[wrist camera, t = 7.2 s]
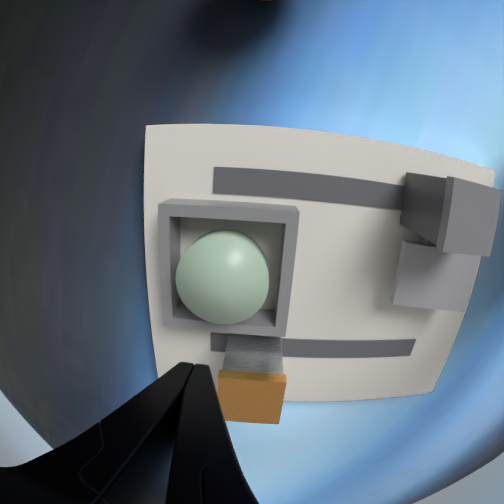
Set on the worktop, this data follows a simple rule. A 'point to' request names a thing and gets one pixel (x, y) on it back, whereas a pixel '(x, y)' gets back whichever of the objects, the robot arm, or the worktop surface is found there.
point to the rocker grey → (433, 277)
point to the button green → (223, 277)
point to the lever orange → (252, 379)
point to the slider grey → (451, 213)
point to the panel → (298, 253)
